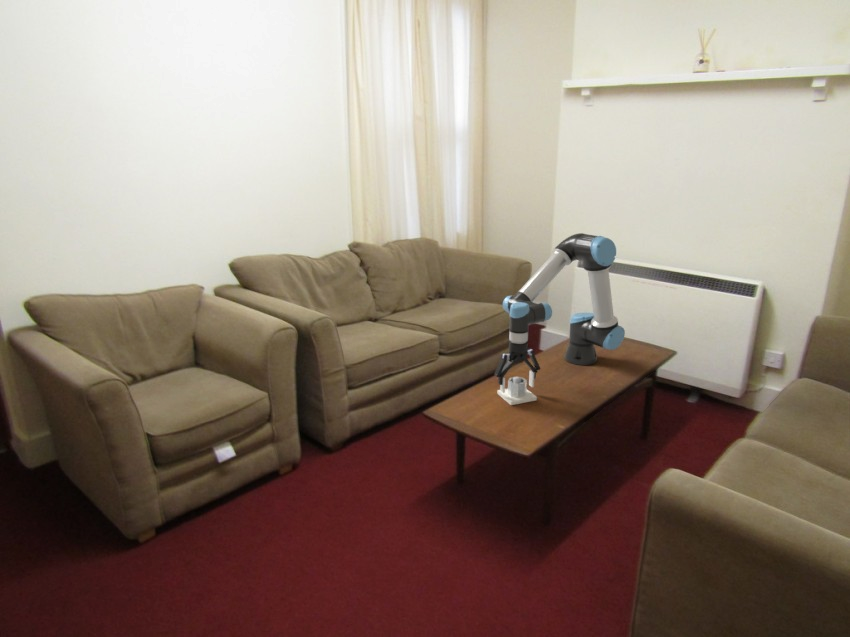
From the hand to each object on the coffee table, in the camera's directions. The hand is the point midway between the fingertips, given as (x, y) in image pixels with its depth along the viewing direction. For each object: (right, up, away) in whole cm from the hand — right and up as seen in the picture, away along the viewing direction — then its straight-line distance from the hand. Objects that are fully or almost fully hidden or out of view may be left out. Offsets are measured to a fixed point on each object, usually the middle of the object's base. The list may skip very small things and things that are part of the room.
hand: (516, 388), depth 235 cm
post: (0, -4, +1) cm, 4 cm away
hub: (0, -2, +1) cm, 2 cm away
